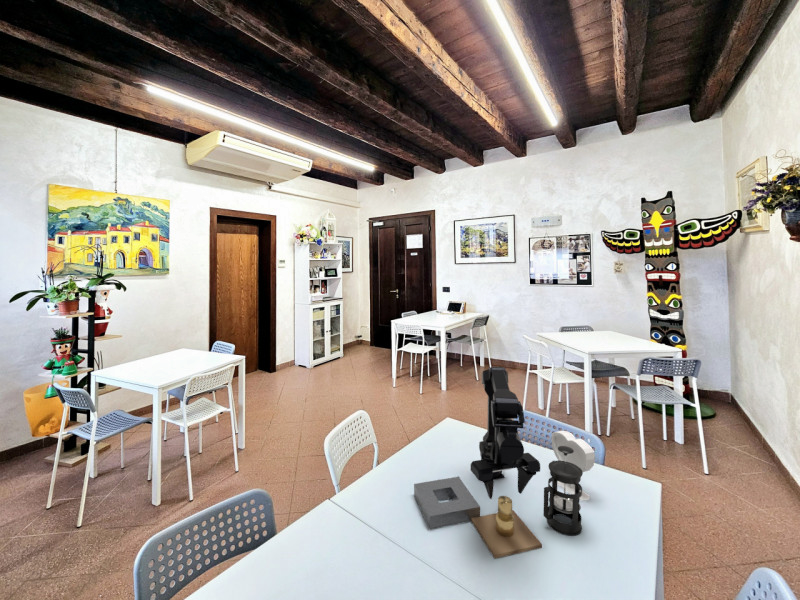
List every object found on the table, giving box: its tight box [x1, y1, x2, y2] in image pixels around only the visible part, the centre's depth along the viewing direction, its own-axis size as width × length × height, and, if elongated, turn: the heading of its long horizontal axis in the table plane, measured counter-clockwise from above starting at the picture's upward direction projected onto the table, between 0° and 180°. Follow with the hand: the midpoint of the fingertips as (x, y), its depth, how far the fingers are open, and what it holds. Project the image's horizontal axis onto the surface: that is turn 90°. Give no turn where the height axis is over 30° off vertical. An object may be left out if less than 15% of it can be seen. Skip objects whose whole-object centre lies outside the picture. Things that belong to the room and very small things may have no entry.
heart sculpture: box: [550, 430, 596, 501], centre depth 117 cm, size 16×5×18 cm, turn 17°
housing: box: [413, 476, 481, 530], centre depth 109 cm, size 16×16×4 cm
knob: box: [496, 495, 514, 537], centre depth 97 cm, size 5×5×9 cm
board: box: [470, 509, 543, 559], centre depth 98 cm, size 14×14×1 cm
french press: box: [542, 446, 584, 537], centre depth 100 cm, size 12×9×23 cm
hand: (505, 495), depth 97 cm, fingers open, 9 cm apart
